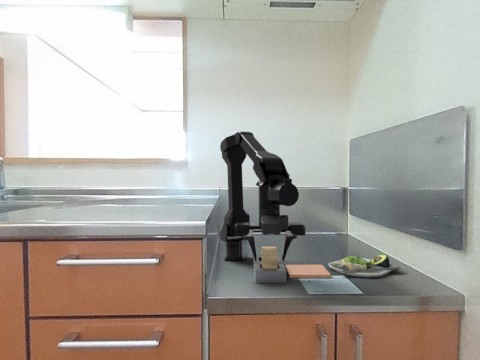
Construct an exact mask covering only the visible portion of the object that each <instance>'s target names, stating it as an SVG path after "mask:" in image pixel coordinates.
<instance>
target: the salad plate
mask: <svg viewBox="0 0 480 360" xmlns="http://www.w3.org/2000/svg"><path fill="white" fill-rule="evenodd" d="M343 266H345V267H346V268H347V269H340V268H341V267H343ZM328 267H329V268H330V269H331V270H332V271H333V272H336V273H338V274H342V275H345V276H348V277H349V276H351V277H359V278H378V277H382V276H387V275H390V274H393V273H394V272H396V271H398V270H401V269H402V267H400V266H395V265H394V264H392V263H390V259H389V257H388V254H379V255H376V256H374V258H372V259H368V258H365V257H360V256H358V255H355V256H354V255H353V256H352V255H351V256H347V257H344V258H343V259H342V258H341V259H339V260H337V261H331V262H328Z"/></svg>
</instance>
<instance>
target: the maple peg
mask: <svg viewBox="0 0 480 360" xmlns="http://www.w3.org/2000/svg"><path fill="white" fill-rule="evenodd" d="M278 250H279V249H278V248H277V246H261V256H262V269H278V256H279V255H278V252H279V251H278Z"/></svg>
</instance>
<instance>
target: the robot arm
mask: <svg viewBox="0 0 480 360" xmlns="http://www.w3.org/2000/svg"><path fill="white" fill-rule="evenodd" d="M219 149H220V152H221V158H222V159H223V162H225V164H226V165H227V167H226V168H227V190H228V193H227V194H228V210H227V212H226V214H225V215H224V218H223V225H222V227H221V229H220V232H219V239H220V241H222V242H225V255H224V258H223V260H224V261H245V254H244V241H248V244H249V246H250V249H251V252H252V255H253V256H254V259H255V261H257V256H258V255H257V249H256V243H255V242H256V241H255V235H254V233H261V234H262V235H263V236H268V235H275V236H278V235H281V234H282V233H283V240H282V249H281V250H282V251H281V260H282V262H284V261H285V258H286V256H287V253H288V250H289V248H290V246H291V243H292V241H293V240H295V239H297V238H298V236H302V237H303V236H306V226H305V225H304V224H303V223H302V222H298V221H297V222H292V221H291V222H289V215H288V214H281V206H282V207H283V206H284V207H293V206H294V205H295V204H296V203H297V202H298V200H299V198H300V192H299V190H298V188H297V186H296V185H295V184H294V183H293V179H292V178H290V173H289V172H288V170H287V168H286V166H285V163H284V160H283V159H282V158H281V157H280V156H279V155H277V154H275V153H272V152H269V151H268V150H266V149H265V148H264V146H263V145H262V144H261V143H260V142H259V141H258V140H257V138H256V137H255V136H254V133H253V132H251V131H237V132H235V133H234V134H232V135H229V136H226V137H225V138H224V139H223V140H222V141H221V142H220V145H219ZM247 157H248V158H249V159H250V160H251V161H252V162H253V166H252V170H253V171H254V174H255V175H256V177H257V179H259V180H258V181H257V182H256V183H255V186H257V187H258V225H251V222H250V221H251V219H250V215H249V214H250V213H249V214H248V213H247V212H246V211H245V209H244V191H243V190H244V188H243V186H244V185H243V164H244V161H245V159H246V158H247Z"/></svg>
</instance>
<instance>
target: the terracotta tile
mask: <svg viewBox="0 0 480 360" xmlns="http://www.w3.org/2000/svg"><path fill="white" fill-rule="evenodd" d="M284 267H285V269H286V273H287V274H288V276H289V278H290V279H299V278H300V279H302V278H303V279H305V278H306V279H308V278H309V279H312V278H313V279H317V278H318V279H323V278H324V279H327V278H328V279H329V278H331V277H332V276H331V272H329V271H328V270H327V269H326V268H325V266H324V265H323V264H285V265H284Z"/></svg>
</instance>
